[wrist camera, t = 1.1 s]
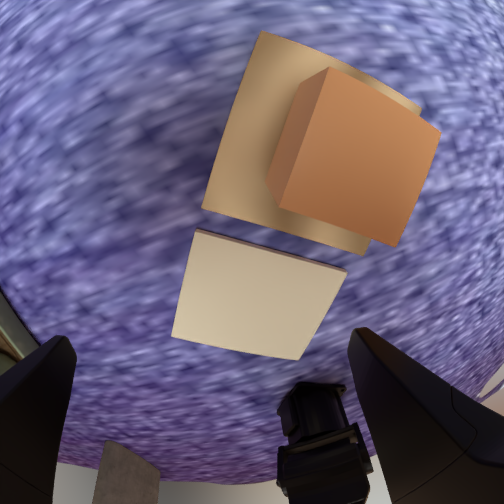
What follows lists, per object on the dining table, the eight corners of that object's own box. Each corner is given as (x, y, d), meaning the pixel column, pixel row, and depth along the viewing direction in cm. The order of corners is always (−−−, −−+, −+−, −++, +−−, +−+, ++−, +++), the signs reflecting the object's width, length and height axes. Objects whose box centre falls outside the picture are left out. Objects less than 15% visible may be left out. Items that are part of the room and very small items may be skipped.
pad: (345, 269, 22) (347, 273, 21) (297, 356, 26) (298, 360, 25) (196, 228, 19) (195, 231, 19) (172, 331, 23) (171, 336, 23)
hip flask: (102, 439, 34) (83, 535, 16) (119, 440, 34) (102, 541, 16) (150, 472, 41) (143, 550, 23) (166, 473, 41) (162, 554, 23)
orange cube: (389, 126, 14) (441, 132, 10) (355, 213, 16) (395, 247, 12) (299, 83, 13) (329, 66, 8) (264, 181, 15) (278, 207, 11)
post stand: (410, 108, 16) (481, 112, 10) (355, 247, 21) (402, 302, 14) (258, 37, 14) (275, -12, 7) (203, 201, 19) (187, 248, 12)
